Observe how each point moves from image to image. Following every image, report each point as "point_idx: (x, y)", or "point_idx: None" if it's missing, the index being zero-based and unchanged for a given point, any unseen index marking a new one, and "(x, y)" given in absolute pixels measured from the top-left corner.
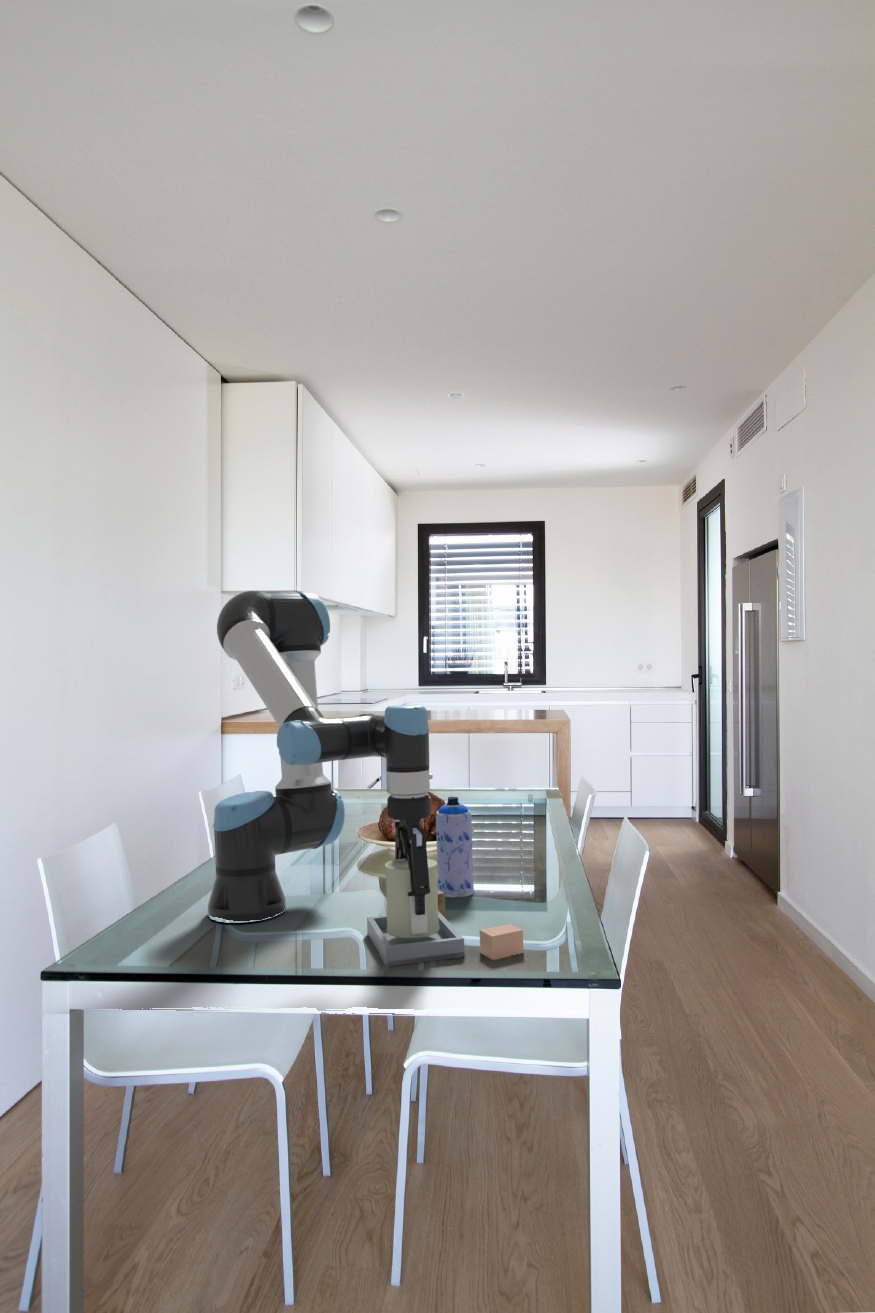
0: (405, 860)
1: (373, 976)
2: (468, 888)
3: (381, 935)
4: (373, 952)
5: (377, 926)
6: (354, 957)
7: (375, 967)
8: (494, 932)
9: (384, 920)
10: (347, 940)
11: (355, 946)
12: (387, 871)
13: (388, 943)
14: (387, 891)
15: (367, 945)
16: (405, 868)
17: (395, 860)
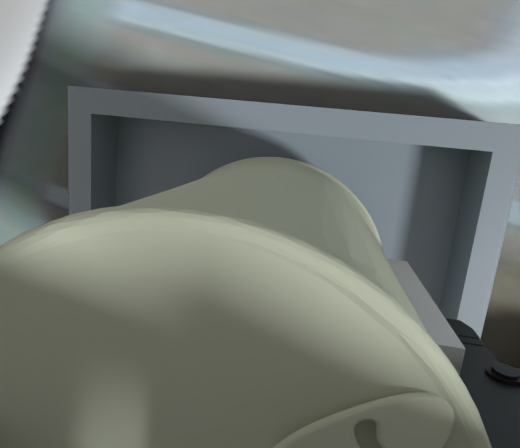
0: None
1: (40, 25)
2: None
3: (223, 114)
4: (266, 90)
5: (356, 134)
6: (244, 3)
7: (116, 55)
8: None
9: (475, 205)
10: (463, 21)
11: (368, 38)
12: (140, 204)
13: (116, 112)
14: (225, 180)
15: (355, 89)
16: (8, 385)
17: (380, 425)
